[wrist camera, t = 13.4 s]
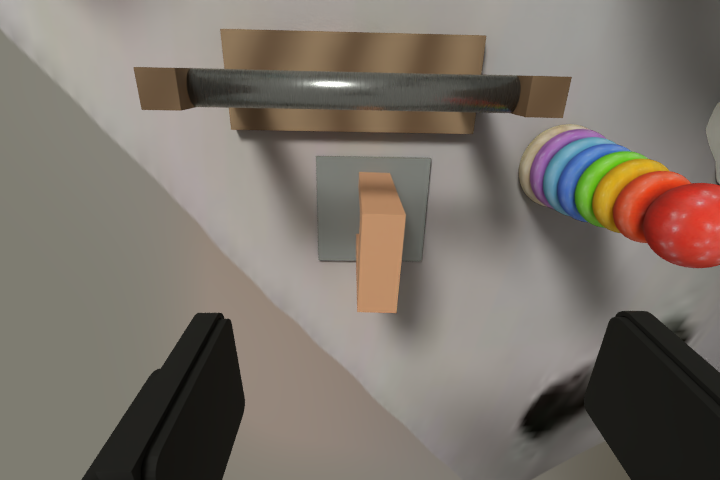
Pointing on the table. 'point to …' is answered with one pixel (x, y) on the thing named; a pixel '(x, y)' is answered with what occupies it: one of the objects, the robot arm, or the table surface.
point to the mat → (343, 207)
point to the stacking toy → (623, 194)
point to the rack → (351, 83)
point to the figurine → (715, 137)
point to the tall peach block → (379, 243)
